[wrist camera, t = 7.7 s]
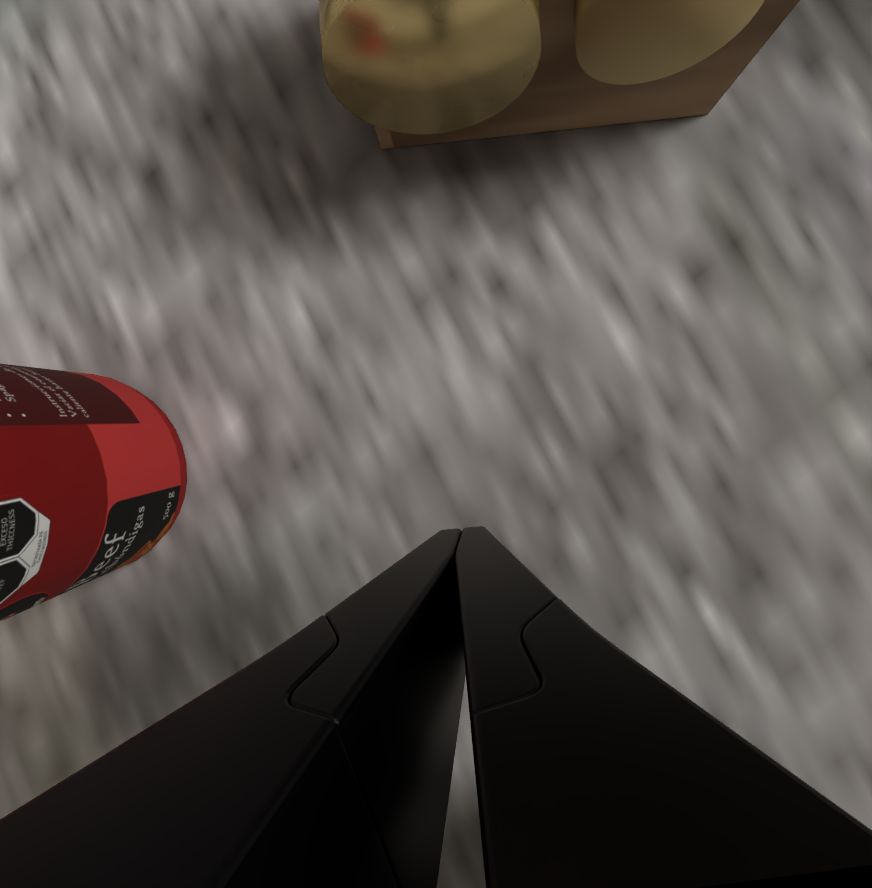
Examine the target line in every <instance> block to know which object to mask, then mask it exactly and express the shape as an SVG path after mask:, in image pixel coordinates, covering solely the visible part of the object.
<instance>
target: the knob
mask: <svg viewBox="0 0 872 888" xmlns="http://www.w3.org/2000/svg"><path fill="white" fill-rule="evenodd" d="M319 22H320V34H321V47H322V59H323V68H324V74H325V77H326V80H327V83H328V85H329V87H330V89H331V91H332V93H333V94H334V95H335V97H336V98H337V100H338V101H339V102H340V103H341V104H342V105H343V106H344V107H345V108H346V109H347V110H349V111H350V112H351V113H352V114H354V115H355V116H357V117H359V118H360V119H362V120H364V121H366V122H368V123H370V124H372V125H375V126H377V127H380V128H383V129H387V130H390V131H395V132H400V133H408V134H437V133H444V132H451V131H455V130H459V129H463V128H466V127H469V126H472V125H475V124H477V123H480V122H482V121H484V120H486V119H488V118H490V117H492V116H494V115H495V114H497V113H498V112H500V111H502V110H503V109H504V108H506V107H507V106H508V105H510V104H511V103H512V102H513V101H514V100H515V99H516V98H517V97H518V96H519V95H520V94H521V93H522V92H523V91H524V89H525V88H526V87H527V85H528V84H529V82H530V81H531V79H532V77H533V75H534V73H535V71H536V69H537V66H538V62H539V59H540V52H541V36H540V17H539V0H319Z"/></svg>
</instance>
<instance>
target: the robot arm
mask: <svg viewBox="0 0 872 888" xmlns="http://www.w3.org/2000/svg"><path fill="white" fill-rule="evenodd" d="M465 675H466V681H467V691H468V702H469V712H470V721H471V734H472V744H473V755H474V765H475V776H476V786H477V796H478V807H479V817H480V827H481V838H482V848H483V859H484V869H485V879H486V888H872V830H871V829H869V828H868V827H867V826H865V825H864V824H862V823H861V822H860V821H858V820H857V819H855V818H854V817H853V816H851V815H850V814H848V813H847V812H846V811H844V810H843V809H842V808H840V807H839V806H837V805H836V804H835V803H833V802H832V801H830V800H829V799H828V798H826V797H825V796H823V795H822V794H821V793H819V792H818V791H816V790H815V789H814V788H812V787H811V786H810V785H808V784H807V783H805V782H804V781H803V780H801V779H800V778H798V777H797V776H796V775H794V774H793V773H791V772H790V771H789V770H787V769H786V768H784V767H783V766H782V765H780V764H779V763H777V762H776V761H775V760H773V759H772V758H771V757H769V756H768V755H766V754H765V753H764V752H762V751H761V750H759V749H758V748H757V747H755V746H754V745H752V744H751V743H750V742H748V741H747V740H745V739H744V738H743V737H741V736H740V735H739V734H737V733H736V732H734V731H733V730H732V729H730V728H729V727H727V726H726V725H725V724H723V723H722V722H720V721H719V720H718V719H716V718H715V717H713V716H712V715H711V714H709V713H708V712H706V711H705V710H704V709H702V708H701V707H700V706H698V705H697V704H695V703H694V702H693V701H691V700H690V699H688V698H687V697H686V696H684V695H683V694H681V693H680V692H679V691H677V690H676V689H674V688H673V687H672V686H670V685H669V684H668V683H666V682H665V681H663V680H662V679H661V678H659V677H658V676H656V675H655V674H654V673H652V672H651V671H649V670H648V669H647V668H645V667H644V666H642V665H641V664H640V663H638V662H637V661H635V660H634V659H633V658H631V657H630V656H629V655H627V654H626V653H624V652H623V651H622V650H620V649H619V648H618V647H616V646H615V645H614V644H612V643H611V642H610V641H608V640H607V639H606V638H604V637H603V636H602V635H600V634H599V633H598V632H597V631H595V630H594V629H593V628H591V627H590V626H589V625H588V624H587V623H586V622H585V621H583V620H582V619H581V618H580V617H579V616H578V615H577V614H576V613H574V612H573V611H572V610H571V609H570V608H569V607H568V606H567V605H566V604H565V603H564V602H563V601H562V600H560V599H558V598H557V597H556V596H555V595H554V594H553V593H552V592H551V591H550V590H549V589H548V588H547V587H546V586H545V585H544V584H543V583H542V582H541V581H540V580H539V579H538V578H537V577H536V576H535V575H534V574H533V573H531V572H530V571H529V570H528V569H527V568H526V567H525V566H524V565H523V564H522V563H521V562H520V561H519V560H518V559H517V558H516V557H515V556H514V555H513V554H512V553H511V552H510V551H509V550H508V549H507V548H505V547H504V546H503V545H502V544H501V543H500V542H499V541H498V540H497V539H496V538H495V537H494V536H493V535H492V534H491V533H490V532H489V531H488V530H487V529H486V528H485V527H482V526H480V527H469V528H464V529H463V530H462V531H461V530H460V529H447V530H441V531H439V532H438V533H436V534H435V535H433V536H432V537H431V538H429V539H428V540H427V541H425V542H424V543H422V544H421V545H420V546H418V547H417V548H416V549H414V550H413V551H411V552H410V553H409V554H407V555H406V556H405V557H403V558H402V559H400V560H399V561H398V562H396V563H395V564H393V565H392V566H391V567H389V568H388V569H387V570H385V571H384V572H382V573H381V574H380V575H378V576H377V577H376V578H374V579H373V580H371V581H370V582H369V583H367V584H366V585H365V586H363V587H362V588H360V589H359V590H358V591H356V592H355V593H354V594H352V595H351V596H349V597H348V598H347V599H345V600H344V601H342V602H341V603H340V604H338V605H337V606H336V607H334V608H333V609H331V610H330V611H329V612H327V613H326V615H325V616H324V615H322V616H320V617H319V618H318V619H316V620H315V621H314V622H312V623H311V624H310V625H308V626H307V627H305V628H304V629H302V630H301V631H300V632H298V633H297V634H295V635H294V636H292V637H291V638H289V639H288V640H287V641H285V642H284V643H282V644H281V645H279V646H278V647H276V648H275V649H273V650H272V651H270V652H268V653H267V654H265V655H264V656H262V657H261V658H259V659H258V660H256V661H254V662H253V663H251V664H250V665H248V666H247V667H245V668H243V669H242V670H240V671H239V672H237V673H235V674H234V675H232V676H231V677H229V678H227V679H226V680H224V681H223V682H221V683H219V684H218V685H216V686H214V687H213V688H211V689H210V690H208V691H206V692H205V693H203V694H202V695H200V696H198V697H197V698H195V699H194V700H192V701H190V702H189V703H187V704H186V705H184V706H182V707H181V708H179V709H177V710H176V711H174V712H173V713H171V714H169V715H168V716H166V717H165V718H163V719H161V720H160V721H158V722H157V723H155V724H153V725H152V726H150V727H149V728H147V729H145V730H144V731H142V732H140V733H139V734H137V735H136V736H134V737H132V738H131V739H129V740H128V741H126V742H124V743H123V744H121V745H120V746H118V747H116V748H115V749H113V750H111V751H110V752H108V753H107V754H105V755H103V756H102V757H100V758H99V759H97V760H95V761H94V762H92V763H91V764H89V765H87V766H86V767H84V768H83V769H81V770H79V771H78V772H76V773H74V774H73V775H71V776H70V777H68V778H66V779H65V780H63V781H62V782H60V783H58V784H57V785H55V786H54V787H52V788H50V789H49V790H47V791H45V792H44V793H42V794H41V795H39V796H37V797H36V798H34V799H33V800H31V801H29V802H28V803H26V804H25V805H23V806H21V807H20V808H18V809H17V810H15V811H13V812H12V813H10V814H8V815H7V816H5V817H4V818H2V819H0V888H436V886H437V879H438V872H439V865H440V857H441V850H442V843H443V835H444V828H445V821H446V814H447V806H448V799H449V792H450V784H451V777H452V770H453V763H454V755H455V748H456V741H457V733H458V726H459V719H460V712H461V704H462V697H463V690H464V682H465Z"/></svg>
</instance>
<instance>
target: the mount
mask: <svg viewBox="0 0 872 888" xmlns="http://www.w3.org/2000/svg"><path fill="white" fill-rule="evenodd" d="M799 1H800V0H539V17H540V36H541V52H540V59H539V62H538V66H537V69H536V71H535V73H534V75H533V77H532V79H531V81H530V82H529V84H528V85H527V87H526V88H525V89H524V91H523V92H522V93H521V94H520V95H519V96H518V97H517V98H516V99H515V100H514V101H513V102H512V103H511V104H510V105H508V106H507V107H506V108H504V109H503V110H502V111H500V112H498V113H497V114H495V115H494V116H492V117H490V118H488V119H486V120H484V121H482V122H480V123H477V124H475V125H472V126H469V127H466V128H463V129H459V130H455V131H451V132H444V133H437V134H408V133H400V132H395V131H390V130H387V129H383V128H380V127H377V126H375V125H374V128H375V131H376V134H377V137H378V141H379V144H380V147H381V149H389V148H399V147H408V146H417V145H427V144H436V143H445V142H455V141H464V140H473V139H483V138H492V137H501V136H511V135H520V134H529V133H539V132H548V131H557V130H567V129H576V128H585V127H595V126H604V125H613V124H623V123H632V122H641V121H651V120H660V119H669V118H679V117H688V116H697V115H707V114H708V113H709V112H710V111H711V109H712V108H713V107H714V106H715V105H716V103H717V102H718V101H719V100H720V98H721V97H722V96H723V95H724V93H725V92H726V91H727V90H728V88H729V87H730V86H731V85H732V83H733V82H734V81H735V80H736V79H737V77H738V76H739V75H740V74H741V72H742V71H743V70H744V69H745V67H746V66H747V65H748V64H749V62H750V61H751V60H752V59H753V57H754V56H755V55H756V54H757V53H758V51H759V50H760V49H761V48H762V46H763V45H764V44H765V43H766V41H767V40H768V39H769V38H770V36H771V35H772V34H773V33H774V31H775V30H776V29H777V28H778V27H779V25H780V24H781V23H782V22H783V20H784V19H785V18H786V17H787V15H788V14H789V13H790V12H791V10H792V9H793V8H794V7H795V5H796V4H797V3H798V2H799Z"/></svg>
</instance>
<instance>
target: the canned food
mask: <svg viewBox="0 0 872 888" xmlns="http://www.w3.org/2000/svg"><path fill="white" fill-rule="evenodd" d="M186 484H187V469H186V460H185V455H184V451H183V446H182V444H181V441H180V439H179V437H178V434H177V432H176V429H175V428H174V426H173V425H172V423H171V422H170V420H169V419H168V417H167V416H166V414H165V413H164V412H163V411H162V410H161V409H160V408H159V407H158V406H157V405H156V404H155V403H154V402H153V401H152V400H150V399H149V398H147V397H146V396H145V395H143V394H142V393H140V392H139V391H137V390H135V389H133V388H131V387H130V386H128V385H125V384H123V383H121V382H119V381H116V380H114V379H112V378H108V377H103V376H98V375H94V374H85V373H76V372H67V371H59V370H50V369H41V368H32V367H23V366H15V365H6V364H0V621H2V620H4V619H7V618H9V617H11V616H13V615H16V614H18V613H20V612H22V611H24V610H27V609H29V608H31V607H33V606H36V605H38V604H40V603H42V602H44V601H47V600H49V599H51V598H53V597H56V596H58V595H60V594H62V593H64V592H67V591H69V590H71V589H73V588H76V587H78V586H80V585H82V584H84V583H87V582H89V581H91V580H93V579H96V578H98V577H100V576H102V575H104V574H107V573H109V572H111V571H113V570H116V569H118V568H120V567H122V566H124V565H127V564H129V563H131V562H133V561H136V560H137V559H139V558H140V557H141V556H143V555H144V554H146V553H147V552H148V551H150V550H151V549H152V548H153V547H154V546H155V545H156V544H157V542H158V541H159V540H160V539H161V538H162V537H163V536H164V535H165V534H166V533H167V531H168V530H169V529H170V528H171V526H172V525H173V523H174V521H175V520H176V518H177V516H178V515H179V512H180V509H181V506H182V504H183V501H184V498H185V491H186Z"/></svg>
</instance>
